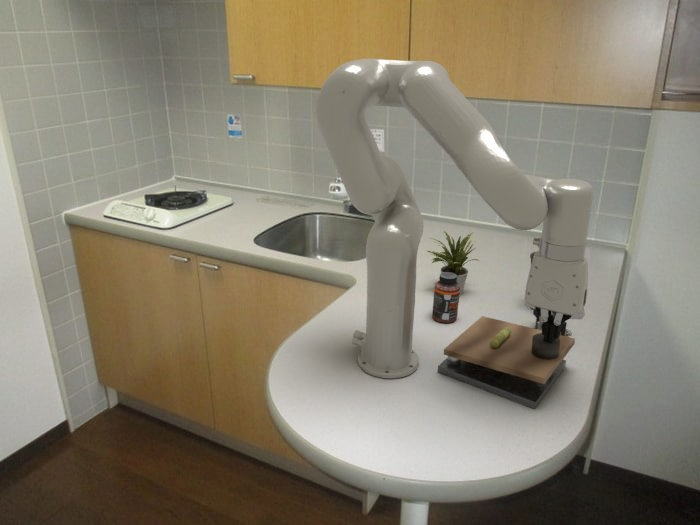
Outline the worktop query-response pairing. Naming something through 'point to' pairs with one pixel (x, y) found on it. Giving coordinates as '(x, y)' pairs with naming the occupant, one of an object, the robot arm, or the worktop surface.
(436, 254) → the house plant
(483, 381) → the dark board base
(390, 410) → the worktop surface
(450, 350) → the levelling plate
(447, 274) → the supplement bottle
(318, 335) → the worktop surface
